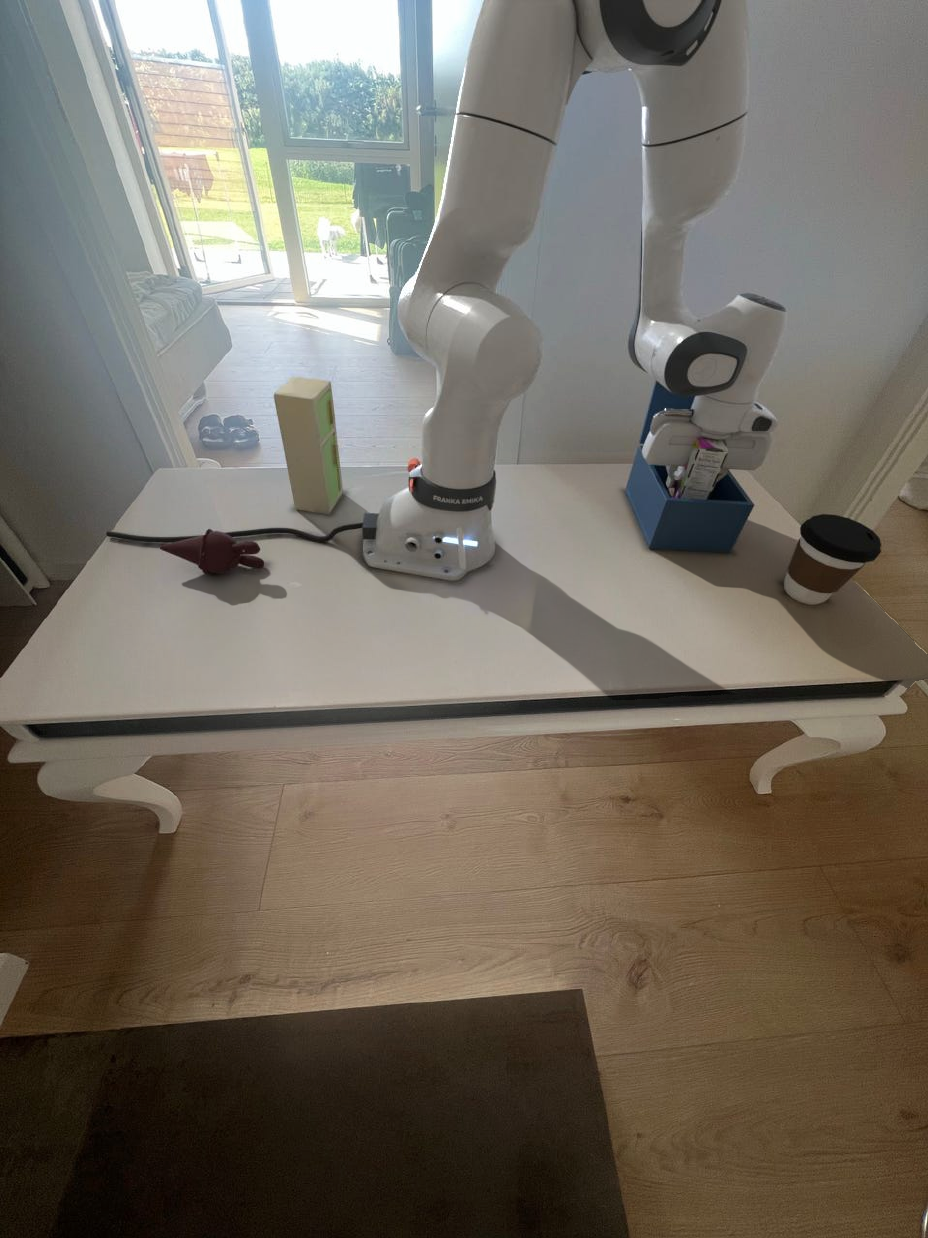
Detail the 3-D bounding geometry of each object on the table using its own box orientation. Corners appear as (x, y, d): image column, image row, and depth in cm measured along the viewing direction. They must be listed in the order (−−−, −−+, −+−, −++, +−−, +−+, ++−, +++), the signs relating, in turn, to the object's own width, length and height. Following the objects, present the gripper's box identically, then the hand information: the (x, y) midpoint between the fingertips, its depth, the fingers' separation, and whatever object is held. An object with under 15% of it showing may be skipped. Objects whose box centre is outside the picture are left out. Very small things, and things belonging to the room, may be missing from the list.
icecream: (143, 552, 74) (253, 561, 76) (159, 513, 78) (263, 523, 80) (160, 580, 80) (261, 588, 82) (174, 542, 84) (271, 551, 86)
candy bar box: (661, 499, 103) (691, 417, 91) (687, 503, 102) (720, 421, 91) (665, 531, 95) (699, 446, 83) (693, 536, 94) (731, 450, 83)
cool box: (730, 552, 93) (754, 504, 86) (648, 548, 93) (666, 500, 86) (695, 494, 107) (714, 449, 100) (624, 490, 107) (638, 445, 100)
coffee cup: (829, 578, 89) (871, 518, 81) (848, 621, 82) (896, 560, 73) (762, 566, 91) (797, 506, 82) (775, 607, 83) (814, 546, 75)
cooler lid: (759, 326, 87) (746, 321, 91) (672, 320, 87) (663, 315, 91) (716, 447, 100) (706, 439, 104) (639, 443, 99) (633, 434, 103)
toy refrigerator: (333, 515, 94) (317, 398, 80) (294, 510, 95) (271, 392, 80) (347, 493, 100) (335, 380, 86) (311, 488, 101) (292, 375, 86)
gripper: (661, 415, 82) (636, 493, 91) (788, 423, 82) (750, 499, 92) (651, 399, 86) (628, 475, 96) (772, 406, 87) (737, 481, 97)
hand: (689, 487), depth 94 cm, fingers closed on candy bar box, 5 cm apart
